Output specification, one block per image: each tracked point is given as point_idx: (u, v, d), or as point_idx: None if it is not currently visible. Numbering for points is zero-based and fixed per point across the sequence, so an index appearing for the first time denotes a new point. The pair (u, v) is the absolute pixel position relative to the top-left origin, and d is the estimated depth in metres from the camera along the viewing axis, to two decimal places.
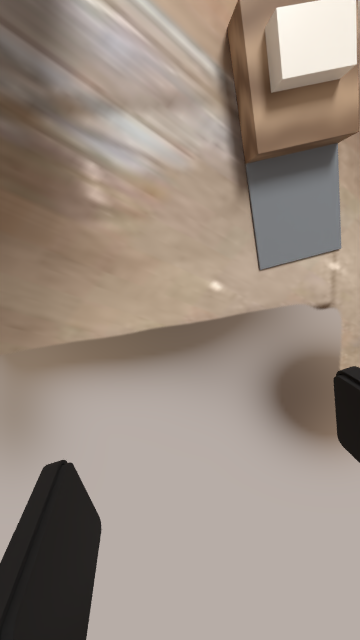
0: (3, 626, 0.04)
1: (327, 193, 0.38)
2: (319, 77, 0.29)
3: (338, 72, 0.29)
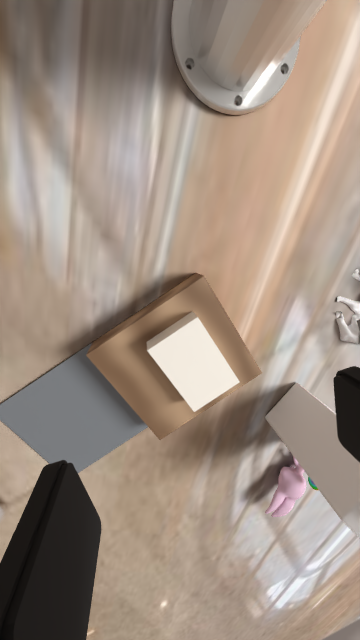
0: (3, 626, 0.04)
1: (110, 436, 0.34)
2: None
3: None
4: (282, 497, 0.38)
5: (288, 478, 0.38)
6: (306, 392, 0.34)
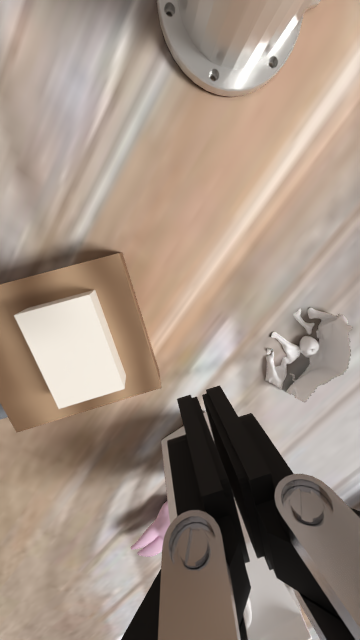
0: None
1: None
2: None
3: None
4: (154, 535, 0.32)
5: (167, 515, 0.33)
6: (209, 425, 0.30)
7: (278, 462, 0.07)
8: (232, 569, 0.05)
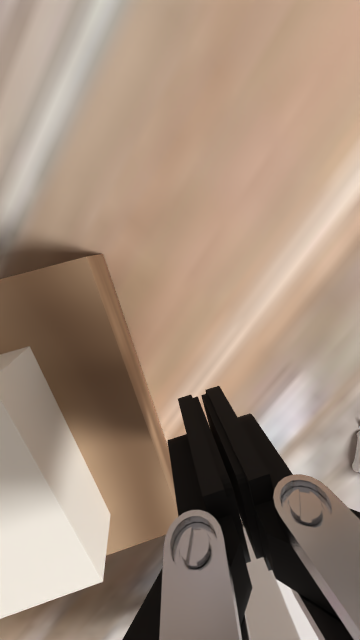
0: None
1: None
2: None
3: None
4: None
5: None
6: (264, 561, 0.17)
7: (277, 462, 0.07)
8: (233, 569, 0.05)
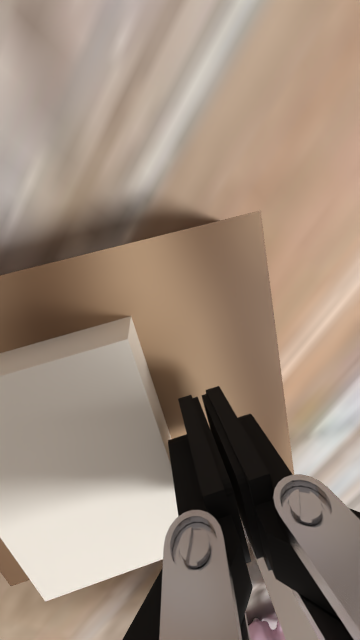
0: None
1: None
2: None
3: None
4: None
5: None
6: None
7: (277, 463, 0.07)
8: (233, 569, 0.05)
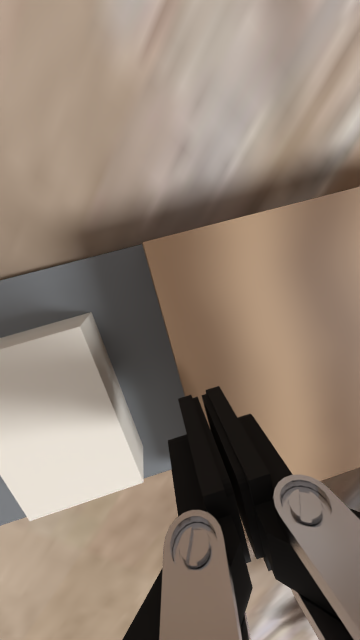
0: None
1: None
2: (122, 411, 0.13)
3: (135, 439, 0.14)
4: None
5: None
6: None
7: (277, 462, 0.07)
8: (233, 569, 0.05)
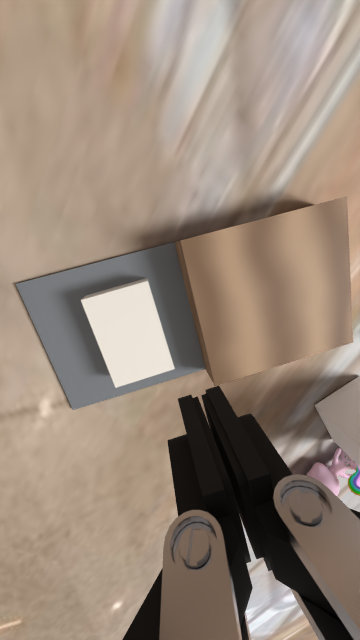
0: None
1: None
2: None
3: None
4: None
5: (324, 474, 0.32)
6: None
7: (277, 463, 0.07)
8: (233, 569, 0.05)
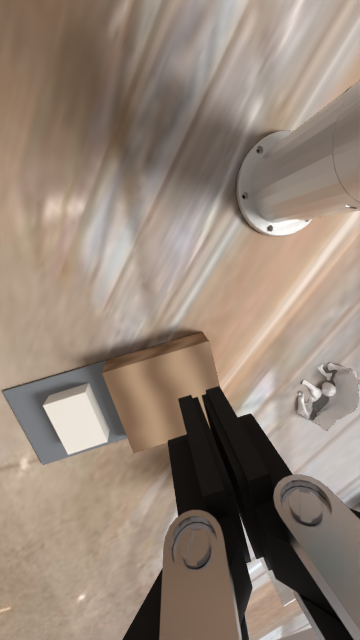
0: None
1: None
2: (100, 416, 0.37)
3: (105, 427, 0.38)
4: None
5: None
6: None
7: (277, 463, 0.07)
8: (233, 569, 0.05)
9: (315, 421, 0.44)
